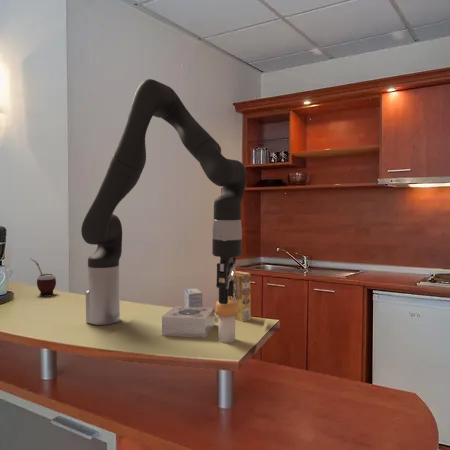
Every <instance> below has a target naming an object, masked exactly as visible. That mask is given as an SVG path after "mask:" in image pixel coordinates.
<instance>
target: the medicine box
mask: <svg viewBox="0 0 450 450" xmlns="http://www.w3.org/2000/svg"><path fill="white" fill-rule="evenodd" d="M183 293H184V294H183V301H184V302H183V305H184V307H204V305H203V292H201V291H200V290H199V289H198V288H186V289H184V290H183Z"/></svg>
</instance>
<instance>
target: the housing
mask: <svg viewBox="0 0 450 450" xmlns="http://www.w3.org/2000/svg"><path fill="white" fill-rule="evenodd" d="M215 315H216V307H204V306H203V307H184V306H178V305H175V306H173V307H172V308H171V309H169V310H168V311H167V312H166V313H165V314H163V315H162V316H161V336H170V337H185V338H186V337H187V338H206V337H207V336H208V335H209V334H210V332H211V331H212V330H213V328H214V327H215V326H216V325H215V324H216V323H215V320H216V319H215Z"/></svg>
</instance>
